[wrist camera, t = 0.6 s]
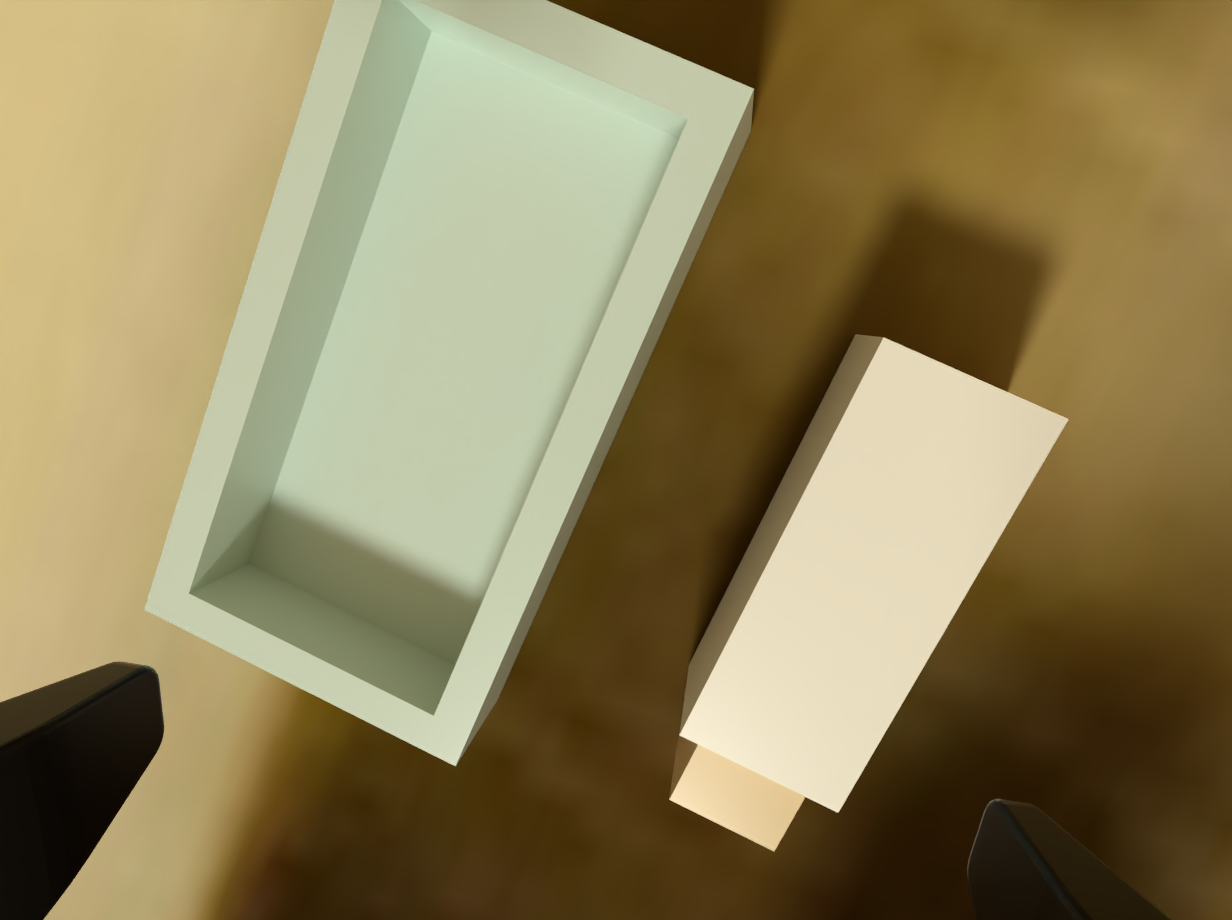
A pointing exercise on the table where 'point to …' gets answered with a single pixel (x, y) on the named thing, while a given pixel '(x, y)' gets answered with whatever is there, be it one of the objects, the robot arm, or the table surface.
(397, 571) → the trough
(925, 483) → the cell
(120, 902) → the table surface
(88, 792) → the robot arm
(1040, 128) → the table surface
